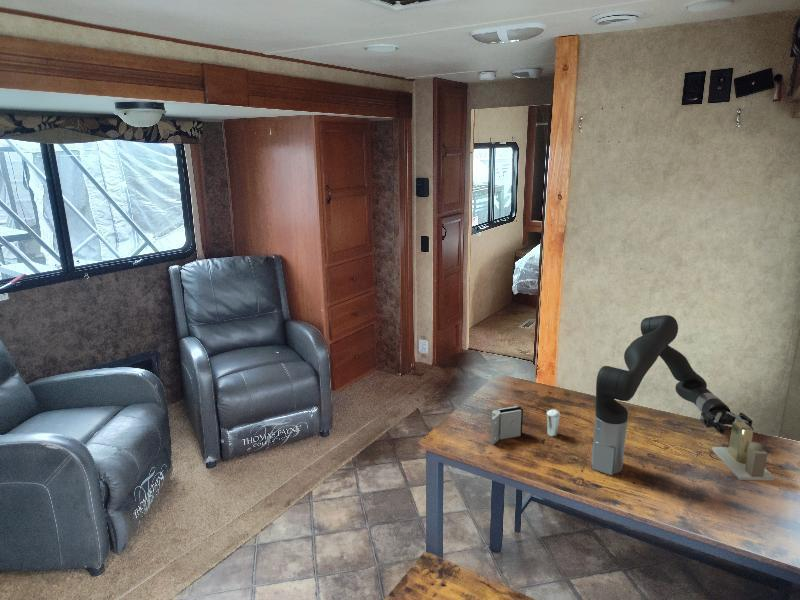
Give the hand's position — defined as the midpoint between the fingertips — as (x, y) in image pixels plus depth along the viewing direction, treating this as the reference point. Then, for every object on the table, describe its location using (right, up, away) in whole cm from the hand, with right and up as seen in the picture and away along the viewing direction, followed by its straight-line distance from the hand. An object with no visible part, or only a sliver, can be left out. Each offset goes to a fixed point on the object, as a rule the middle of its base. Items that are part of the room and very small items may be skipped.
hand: (737, 431), depth 170 cm
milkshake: (-55, -5, +18) cm, 58 cm away
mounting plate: (0, -10, -2) cm, 10 cm away
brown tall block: (0, -8, 0) cm, 8 cm away
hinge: (-72, -6, +16) cm, 74 cm away
